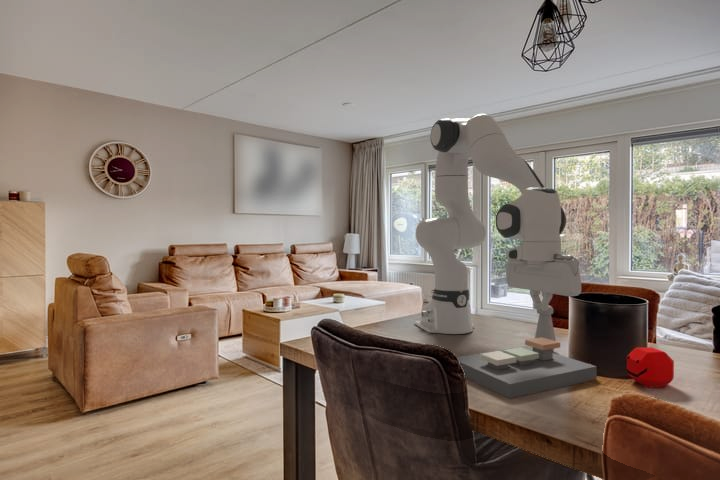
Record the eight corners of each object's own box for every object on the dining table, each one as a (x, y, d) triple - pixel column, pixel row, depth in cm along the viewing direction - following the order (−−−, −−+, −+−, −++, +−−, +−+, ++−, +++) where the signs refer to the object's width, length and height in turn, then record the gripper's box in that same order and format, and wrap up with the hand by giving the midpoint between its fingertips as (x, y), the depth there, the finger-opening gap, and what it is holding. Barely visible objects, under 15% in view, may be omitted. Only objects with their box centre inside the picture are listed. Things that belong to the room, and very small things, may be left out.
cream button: (480, 371, 101) (480, 353, 100) (498, 368, 103) (498, 350, 103) (497, 379, 95) (497, 360, 95) (516, 375, 98) (516, 357, 98)
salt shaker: (558, 354, 118) (558, 307, 118) (536, 353, 119) (536, 307, 119) (553, 348, 124) (553, 304, 124) (532, 347, 125) (532, 303, 125)
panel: (450, 370, 106) (450, 358, 106) (529, 356, 116) (529, 345, 116) (509, 398, 88) (509, 384, 88) (596, 379, 98) (596, 366, 98)
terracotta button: (525, 356, 106) (525, 339, 106) (541, 353, 109) (541, 337, 108) (543, 362, 101) (543, 345, 101) (560, 359, 103) (560, 342, 103)
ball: (620, 378, 99) (620, 345, 99) (653, 377, 99) (653, 344, 99) (646, 391, 91) (646, 355, 91) (681, 389, 91) (681, 354, 91)
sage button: (503, 367, 103) (503, 350, 103) (520, 364, 106) (520, 347, 106) (520, 374, 98) (520, 356, 98) (538, 370, 101) (538, 353, 101)
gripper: (588, 255, 96) (587, 316, 96) (520, 251, 115) (520, 302, 115) (568, 255, 93) (567, 318, 94) (501, 251, 112) (501, 304, 112)
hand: (541, 309), depth 105 cm, fingers closed
